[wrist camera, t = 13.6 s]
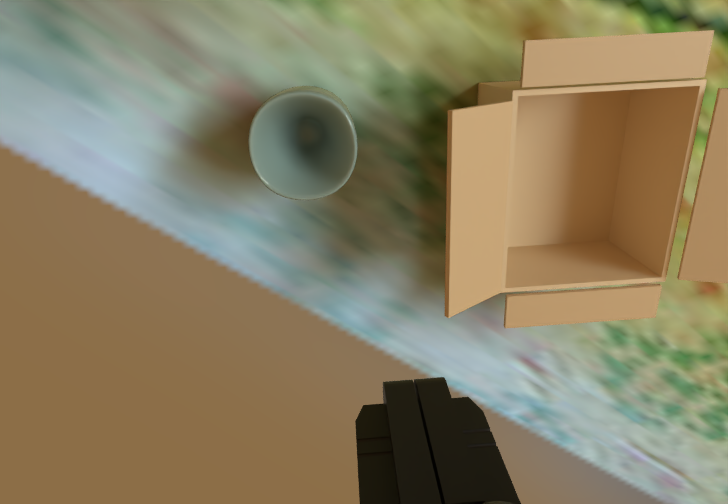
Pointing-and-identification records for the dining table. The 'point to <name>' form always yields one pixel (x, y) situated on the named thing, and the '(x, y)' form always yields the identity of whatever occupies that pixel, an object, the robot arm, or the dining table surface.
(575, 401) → the dining table surface
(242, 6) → the dining table surface
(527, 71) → the carton
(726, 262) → the flap
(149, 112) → the dining table surface
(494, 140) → the flap
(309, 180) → the cup
